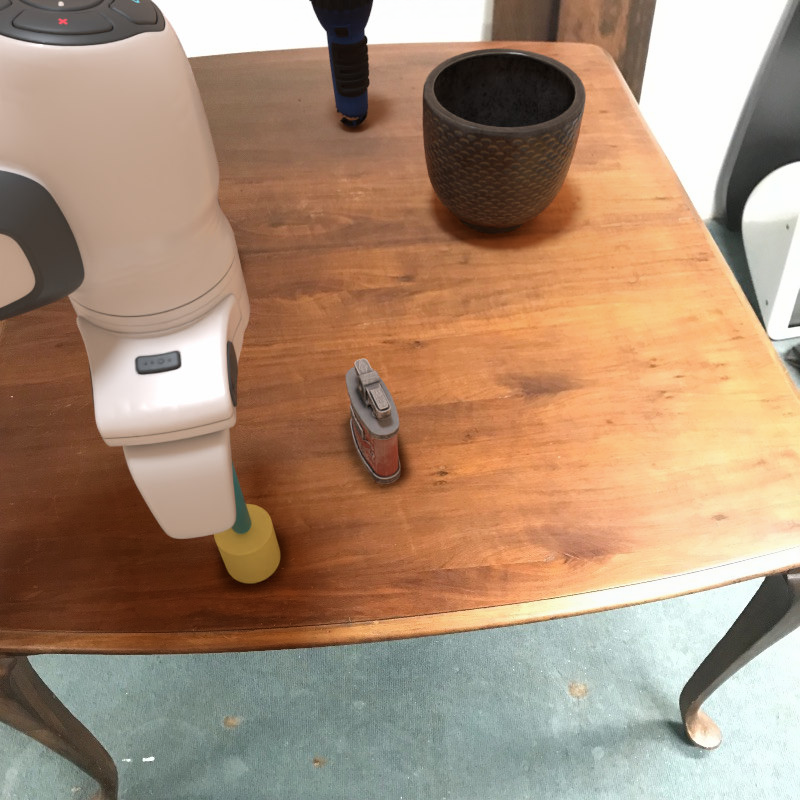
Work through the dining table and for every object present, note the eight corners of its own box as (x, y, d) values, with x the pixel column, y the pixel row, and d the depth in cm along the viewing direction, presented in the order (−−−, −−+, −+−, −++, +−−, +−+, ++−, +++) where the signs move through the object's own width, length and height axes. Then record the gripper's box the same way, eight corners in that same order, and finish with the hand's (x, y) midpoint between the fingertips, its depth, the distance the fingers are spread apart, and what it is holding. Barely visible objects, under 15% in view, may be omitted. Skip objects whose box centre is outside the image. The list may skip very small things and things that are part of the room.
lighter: (343, 422, 74) (335, 352, 66) (376, 412, 75) (372, 340, 67) (373, 489, 69) (368, 421, 61) (408, 476, 70) (407, 408, 62)
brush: (227, 588, 63) (164, 440, 47) (224, 539, 66) (164, 384, 50) (283, 578, 64) (239, 428, 48) (277, 529, 67) (235, 373, 51)
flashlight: (311, 122, 107) (293, -32, 91) (360, 104, 109) (351, -48, 94) (340, 149, 103) (327, -7, 87) (390, 130, 105) (386, -25, 90)
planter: (451, 272, 87) (458, 146, 75) (402, 185, 97) (400, 62, 85) (588, 238, 90) (617, 113, 78) (526, 158, 101) (543, 36, 88)
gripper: (111, 190, 48) (166, 343, 59) (93, 458, 35) (168, 590, 46) (214, 177, 48) (250, 331, 59) (233, 435, 36) (274, 571, 47)
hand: (214, 446), depth 52 cm, fingers open, 6 cm apart
